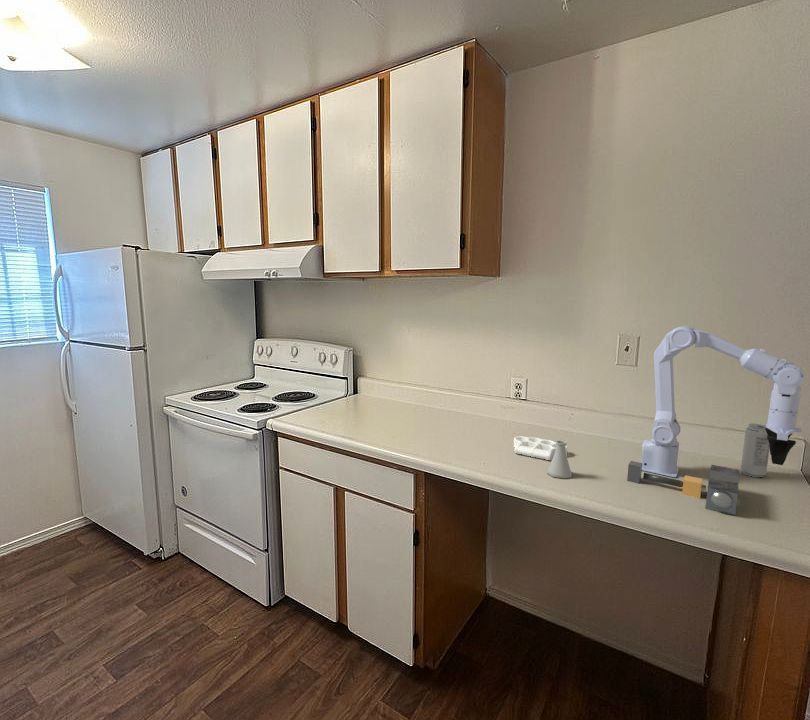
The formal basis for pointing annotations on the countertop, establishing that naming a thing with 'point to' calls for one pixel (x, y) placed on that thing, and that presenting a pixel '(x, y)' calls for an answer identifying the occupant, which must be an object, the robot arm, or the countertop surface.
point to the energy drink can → (755, 451)
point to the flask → (560, 462)
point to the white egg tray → (535, 447)
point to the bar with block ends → (666, 480)
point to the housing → (722, 489)
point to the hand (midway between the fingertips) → (776, 459)
